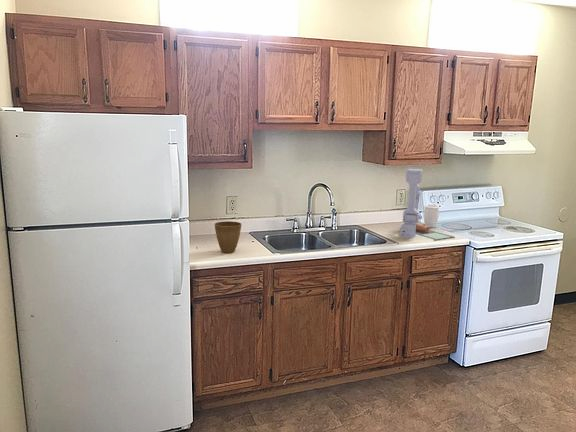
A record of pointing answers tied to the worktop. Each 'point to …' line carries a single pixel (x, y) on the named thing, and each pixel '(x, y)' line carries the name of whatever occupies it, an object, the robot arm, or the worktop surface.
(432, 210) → the jar
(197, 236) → the worktop surface
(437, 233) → the mat
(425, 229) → the t block
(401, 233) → the robot arm
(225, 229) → the plant pot
